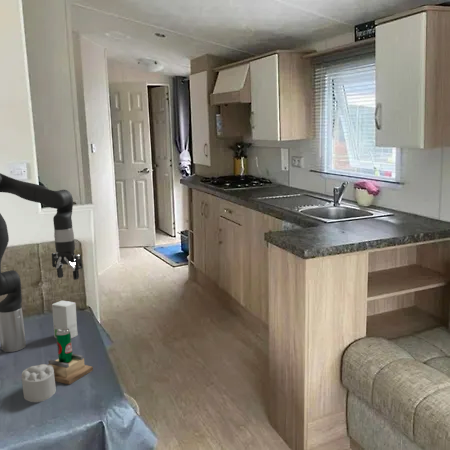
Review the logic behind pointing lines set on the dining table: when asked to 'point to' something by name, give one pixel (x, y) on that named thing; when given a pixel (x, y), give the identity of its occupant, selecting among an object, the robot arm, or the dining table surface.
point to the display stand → (70, 369)
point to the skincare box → (65, 317)
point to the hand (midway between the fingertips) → (68, 278)
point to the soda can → (64, 345)
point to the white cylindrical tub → (38, 383)
